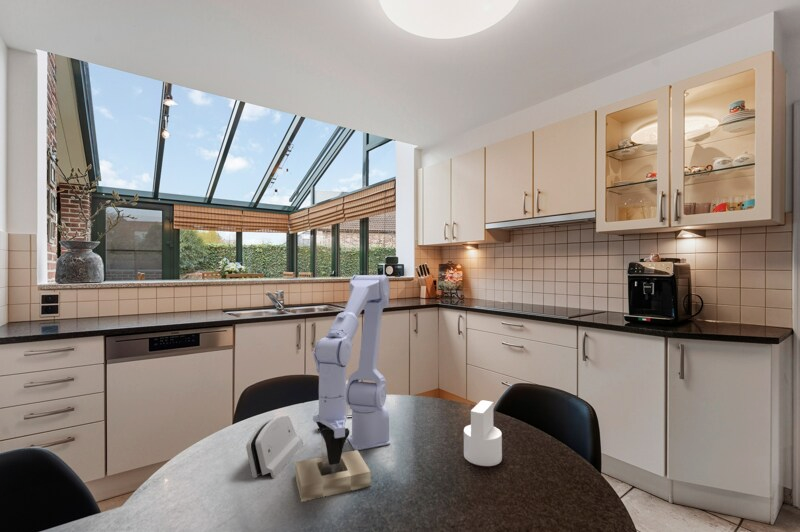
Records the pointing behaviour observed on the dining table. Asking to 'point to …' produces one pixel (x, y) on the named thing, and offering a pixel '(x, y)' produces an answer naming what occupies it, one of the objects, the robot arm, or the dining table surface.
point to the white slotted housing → (272, 446)
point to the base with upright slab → (482, 437)
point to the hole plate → (331, 476)
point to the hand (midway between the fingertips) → (332, 458)
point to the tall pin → (325, 465)
